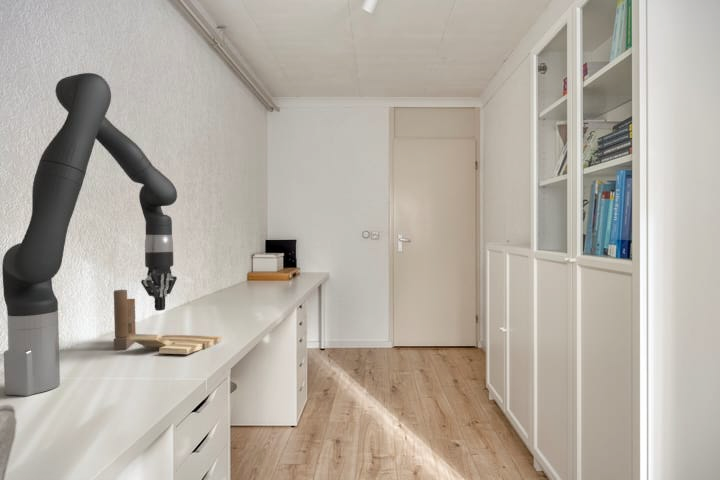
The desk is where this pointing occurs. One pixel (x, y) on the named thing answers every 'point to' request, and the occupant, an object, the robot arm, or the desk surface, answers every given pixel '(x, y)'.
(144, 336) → the plank
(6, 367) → the robot arm
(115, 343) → the wooden block
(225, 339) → the desk surface
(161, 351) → the plank
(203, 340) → the laid floor
